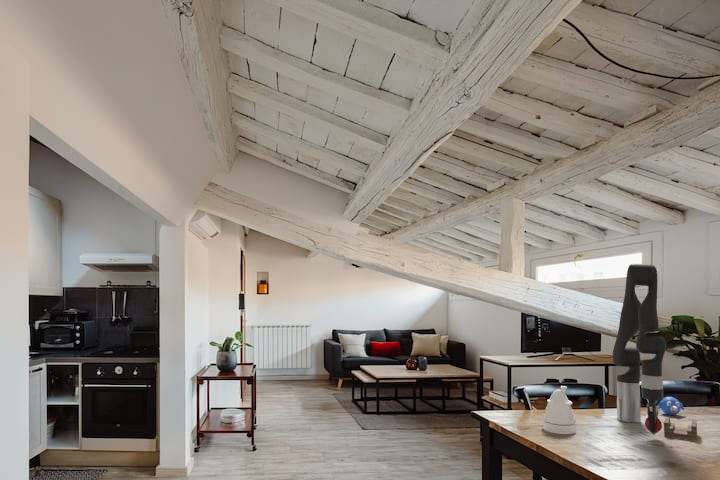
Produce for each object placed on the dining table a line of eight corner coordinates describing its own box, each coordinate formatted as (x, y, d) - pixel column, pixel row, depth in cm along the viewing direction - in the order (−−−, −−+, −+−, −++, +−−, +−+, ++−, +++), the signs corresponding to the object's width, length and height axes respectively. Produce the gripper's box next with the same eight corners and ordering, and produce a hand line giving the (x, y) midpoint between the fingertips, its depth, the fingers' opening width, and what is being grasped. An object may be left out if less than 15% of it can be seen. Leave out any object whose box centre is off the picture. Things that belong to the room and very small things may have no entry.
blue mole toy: (663, 417, 248) (662, 399, 249) (654, 412, 260) (653, 394, 261) (691, 419, 246) (690, 400, 247) (680, 413, 258) (679, 395, 259)
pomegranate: (660, 432, 211) (659, 412, 212) (663, 436, 206) (662, 415, 206) (644, 431, 213) (643, 411, 214) (646, 435, 208) (646, 414, 208)
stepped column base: (696, 441, 208) (695, 426, 208) (664, 436, 214) (663, 422, 214) (697, 434, 218) (696, 421, 218) (666, 430, 224) (665, 417, 224)
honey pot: (576, 428, 225) (576, 385, 226) (575, 435, 213) (574, 389, 215) (545, 424, 230) (544, 382, 232) (541, 431, 218) (541, 387, 220)
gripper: (643, 383, 219) (644, 424, 218) (639, 388, 207) (640, 432, 206) (664, 385, 215) (665, 427, 213) (661, 390, 203) (662, 435, 201)
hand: (653, 429), depth 210 cm, fingers closed on pomegranate, 6 cm apart
